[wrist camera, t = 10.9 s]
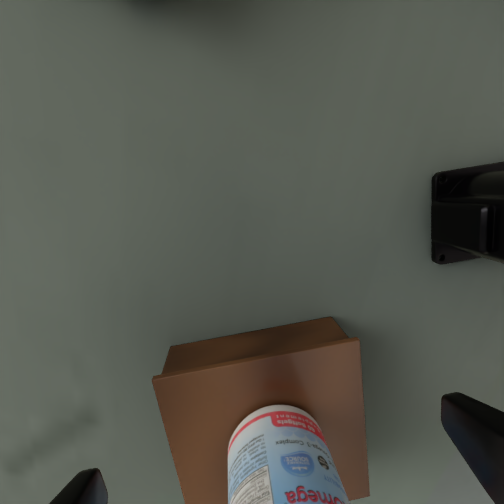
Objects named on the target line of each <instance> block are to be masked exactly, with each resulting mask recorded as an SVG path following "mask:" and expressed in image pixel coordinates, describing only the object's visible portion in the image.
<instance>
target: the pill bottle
mask: <svg viewBox="0 0 504 504" xmlns="http://www.w3.org/2000/svg"><path fill="white" fill-rule="evenodd" d="M228 504H350V503H349V500H348V497H347V495H346V492H345V490H344V487H343V485H342V482H341V480H340V477H339V475H338V472H337V469H336V467H335V464H334V462H333V459H332V457H331V454H330V451H329V449H328V446H327V444H326V441H325V439H324V436H323V434H322V431H321V429H320V427H319V425H318V424H317V422H316V421H315V420H314V419H313V418H312V417H311V416H310V415H309V414H308V413H306V412H305V411H303V410H301V409H299V408H296V407H293V406H289V405H271V406H266V407H263V408H260V409H258V410H256V411H254V412H253V413H251V414H250V415H248V416H247V417H246V418H245V419H244V420H243V421H242V422H241V423H240V424H239V425H238V427H237V428H236V430H235V431H234V433H233V435H232V437H231V439H230V442H229V447H228Z"/></svg>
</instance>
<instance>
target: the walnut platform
mask: <svg viewBox="0 0 504 504" xmlns="http://www.w3.org/2000/svg"><path fill="white" fill-rule="evenodd" d="M152 383H153V386H154V390H155V394H156V397H157V401H158V405H159V408H160V412H161V416H162V419H163V423H164V427H165V430H166V434H167V438H168V441H169V445H170V449H171V452H172V456H173V460H174V463H175V467H176V471H177V475H178V478H179V482H180V486H181V489H182V493H183V497H184V500H185V504H228V447H229V442H230V439H231V437H232V435H233V433H234V431H235V430H236V428H237V427H238V425H239V424H240V423H241V422H242V421H243V420H244V419H245V418H246V417H247V416H248V415H250V414H251V413H253V412H254V411H256V410H258V409H260V408H263V407H266V406H271V405H289V406H293V407H296V408H299V409H301V410H303V411H305V412H306V413H308V414H309V415H310V416H311V417H312V418H313V419H314V420H315V421H316V422H317V424H318V425H319V427H320V429H321V431H322V434H323V436H324V439H325V441H326V444H327V446H328V449H329V451H330V454H331V457H332V459H333V462H334V464H335V467H336V469H337V472H338V475H339V477H340V480H341V482H342V485H343V487H344V490H345V492H346V495H347V497H348V500H349V501H351V500H355V499H359V498H364V497H368V496H370V491H369V475H368V460H367V445H366V429H365V414H364V399H363V383H362V368H361V353H360V340H359V339H358V338H357V337H354V338H349V337H348V336H347V335H346V334H345V333H344V331H343V330H342V329H341V328H340V327H339V325H338V324H337V323H336V322H335V321H334V319H333V318H332V317H326V318H321V319H315V320H310V321H305V322H299V323H294V324H289V325H283V326H278V327H273V328H267V329H262V330H257V331H251V332H246V333H241V334H235V335H230V336H225V337H219V338H214V339H209V340H203V341H198V342H193V343H187V344H182V345H176V346H171V347H170V350H169V353H168V356H167V359H166V362H165V365H164V368H163V371H162V374H161V375H157V376H153V379H152Z"/></svg>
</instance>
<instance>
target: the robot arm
mask: <svg viewBox="0 0 504 504" xmlns="http://www.w3.org/2000/svg"><path fill="white" fill-rule="evenodd" d="M440 177H442V181H441V182H440ZM431 239H432V261H433V262H435V263H437V264H447V263H453V262H458V261H464V260H469V259H475V258H481V257H483V258H486V259H490V260H494V261H497V262H501V263H504V162H499V163H493V164H486V165H480V166H474V167H467V168H461V169H455V170H448V171H442V172H437V173H436V174H434V176H433V177H432V206H431ZM440 255H441V258H440V259H439V256H440ZM441 421H442V425H443V427H444V429H445V431H446V432H447V434H448V435H449V437H450V438H451V440H452V441H453V443H454V444H455V446H456V447H457V449H458V450H459V452H460V453H461V455H462V456H463V458H464V459H465V461H466V462H467V464H468V465H469V467H470V468H471V470H472V471H473V473H474V474H475V476H476V477H477V479H478V480H479V482H480V483H481V485H482V486H483V487H484V489H485V490H486V492H487V493H488V495H489V496H490V497H491V499H492V500H493V501H494V503H495V504H504V412H502V411H500V410H498V409H496V408H493V407H491V406H489V405H487V404H484V403H482V402H480V401H478V400H475V399H473V398H471V397H469V396H466V395H464V394H462V393H459V392H454V393H449V394H445V395H443V396H442V399H441ZM107 503H108V492H107V489H106V486H105V483H104V480H103V478H102V475H101V472H100V470H99V469H98V468H93V469H88V470H83V471H81V472H79V473H78V474H77V475H76V476H75V477H74V478H73V479H72V480H71V481H70V482H69V483H68V484H67V485H66V486H65V487H64V488H63V490H62V491H61V492H60V493H59V494H58V495H57V496H56V497H55V498H54V499H53V500H52V501H51V502H50V503H49V504H107Z"/></svg>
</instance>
